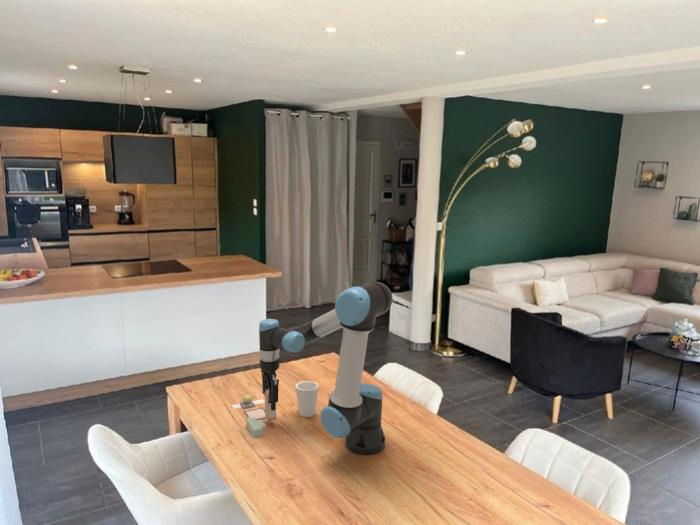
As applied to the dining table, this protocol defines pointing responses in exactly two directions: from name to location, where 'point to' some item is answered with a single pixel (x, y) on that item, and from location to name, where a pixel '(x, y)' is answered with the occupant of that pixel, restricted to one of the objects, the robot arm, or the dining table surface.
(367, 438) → the robot arm
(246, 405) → the white flat panel
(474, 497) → the dining table surface
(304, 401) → the foam cup
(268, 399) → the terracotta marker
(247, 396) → the button
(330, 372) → the dining table surface
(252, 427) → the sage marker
